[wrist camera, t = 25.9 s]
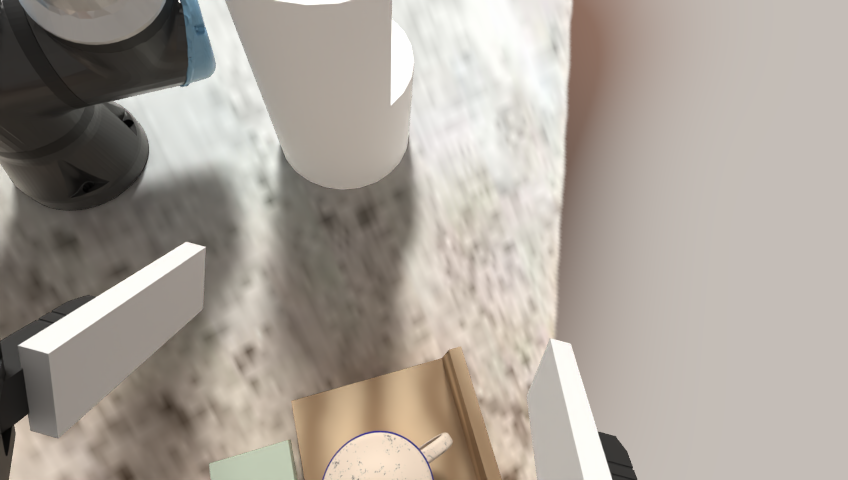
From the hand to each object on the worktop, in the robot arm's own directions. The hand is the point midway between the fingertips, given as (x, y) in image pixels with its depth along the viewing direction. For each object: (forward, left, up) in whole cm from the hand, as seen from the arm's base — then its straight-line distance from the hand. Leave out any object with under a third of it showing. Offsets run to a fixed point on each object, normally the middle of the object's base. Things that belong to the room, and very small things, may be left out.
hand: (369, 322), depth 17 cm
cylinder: (-14, +31, -36) cm, 49 cm away
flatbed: (+3, -7, -36) cm, 37 cm away
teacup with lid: (+3, -7, -33) cm, 34 cm away
